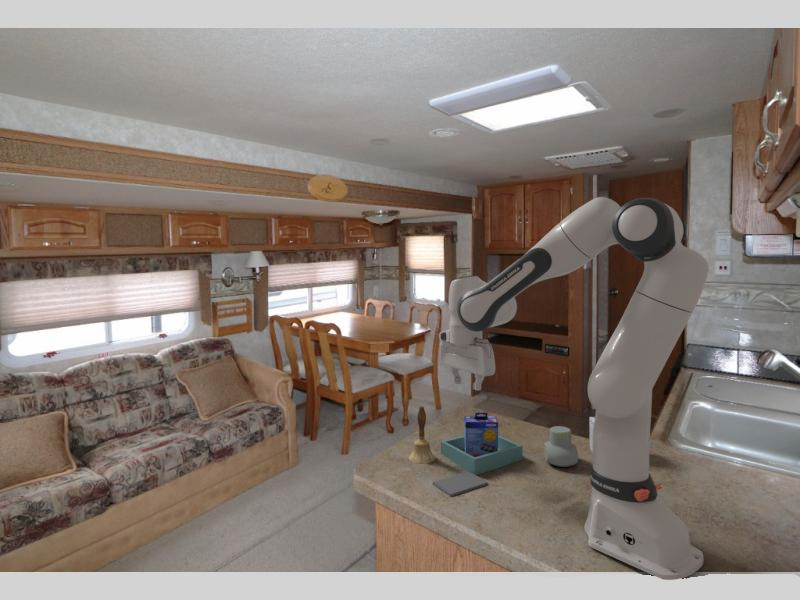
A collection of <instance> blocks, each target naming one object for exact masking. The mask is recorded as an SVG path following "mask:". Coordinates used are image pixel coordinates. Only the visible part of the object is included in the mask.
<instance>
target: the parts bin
mask: <svg viewBox="0 0 800 600" xmlns="http://www.w3.org/2000/svg"><path fill="white" fill-rule="evenodd" d="M440 455H442V456H444V457H445V458H447V459H448V460H450V461H451V462H453V463H454V464H456V465H457V466H459V467H460V468H461V469H463V470H465V472H467V471H469V472H471V473H473V474H474V475H476V476H478V475H481V474H484V473H487V472H491V471H494V470H497V469H499V468H503V467H505V466H508V465H511V464H514V463H516V462H520V461H522V460H523V458H524V457H523V455H524V454H523V445H521V444H519V443H518V442H515V441H512V440H510V439H508V438H506V437H503V436H501V435H500V434H498V451H496V452H492V453H489V454H485V455H482V456H478V457H473V456H471V455H469V454H467V453H466V452H465V450H464V435H461V436H456V437H453V438H449V439H444V440H441V441H440Z"/></svg>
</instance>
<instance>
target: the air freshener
mask: <svg viewBox="0 0 800 600" xmlns="http://www.w3.org/2000/svg"><path fill="white" fill-rule="evenodd" d="M543 454H544V458H545V459H544V460H545V461H546V462H547V463H548V464H550V465H552V466H555V467H559V468H567V467H568V468H569V467H572V466H574V465H576V464H578V461H579V454H578V449H577V446H576V445H575V444H574V443H572V430H571V428H568V427H566V426H560V425H559V426H558V425H555V426H552V427H550V428H549V440H548V441H546V442H545V443H543Z"/></svg>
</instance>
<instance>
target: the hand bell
mask: <svg viewBox="0 0 800 600" xmlns="http://www.w3.org/2000/svg"><path fill="white" fill-rule="evenodd" d="M426 423H427V414H426V410H425V407H424V406H419V408H418V412H417V424H418V427H419V429H418V439H416V440H415V441H414V444H413V449H412V452H411V454H410V455H409V456H408V459H409V461H410V462H412V463H414V464H419V465H427V464H430V463H433V462H434V461H435V460H436V455H435V454H433V452H432V450H431V446H430V441H429V440H427V439H426V438H425V435H426V433H425V426H426Z"/></svg>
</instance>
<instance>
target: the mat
mask: <svg viewBox="0 0 800 600" xmlns="http://www.w3.org/2000/svg"><path fill="white" fill-rule="evenodd" d="M488 484H489V483H488V481H486V480H485V479H483V478H482V477H479V476H478V475H474V474H473V473H471V472H469V471H464V472H460V473H457V474H455V475H451V476H447V477H445V478H441V479H437V480H434V481H432V485H433V486H435V487H436V488H437V489H439V490H441V492H443V493H444V494H446V495H447V496H449V497H455V496H456V495H461V494H463V493H466V492H469V491H471V490H474V489H479V488H482V487H484V486H487V485H488Z"/></svg>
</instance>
